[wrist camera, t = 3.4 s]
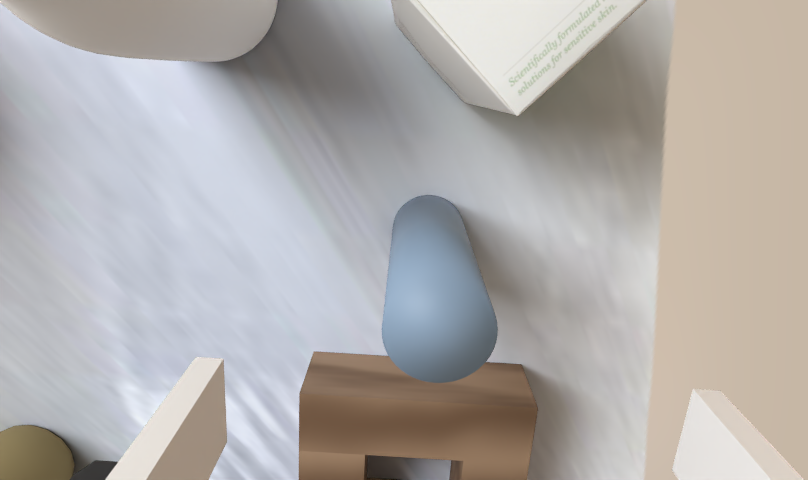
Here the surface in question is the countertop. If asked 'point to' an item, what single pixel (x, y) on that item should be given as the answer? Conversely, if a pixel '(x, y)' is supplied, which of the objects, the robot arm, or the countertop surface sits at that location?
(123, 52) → the milk bottle
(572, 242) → the countertop surface
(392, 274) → the peg
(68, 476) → the squeeze bottle
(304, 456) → the socket block
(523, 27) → the skincare box
